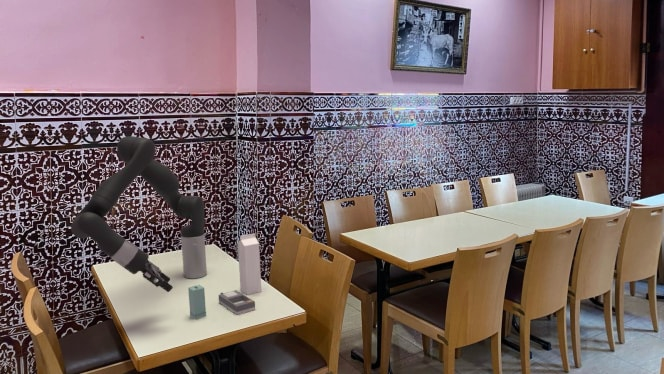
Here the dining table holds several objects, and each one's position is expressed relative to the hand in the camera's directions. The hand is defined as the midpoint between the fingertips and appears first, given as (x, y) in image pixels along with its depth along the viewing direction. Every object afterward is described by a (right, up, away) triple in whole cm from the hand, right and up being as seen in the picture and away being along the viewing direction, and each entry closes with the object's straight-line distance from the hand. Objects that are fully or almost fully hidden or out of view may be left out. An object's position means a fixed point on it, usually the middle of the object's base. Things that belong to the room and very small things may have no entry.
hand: (169, 285), depth 183 cm
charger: (+8, -11, +5) cm, 15 cm away
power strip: (+19, -9, +14) cm, 25 cm away
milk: (+23, -7, +27) cm, 36 cm away
